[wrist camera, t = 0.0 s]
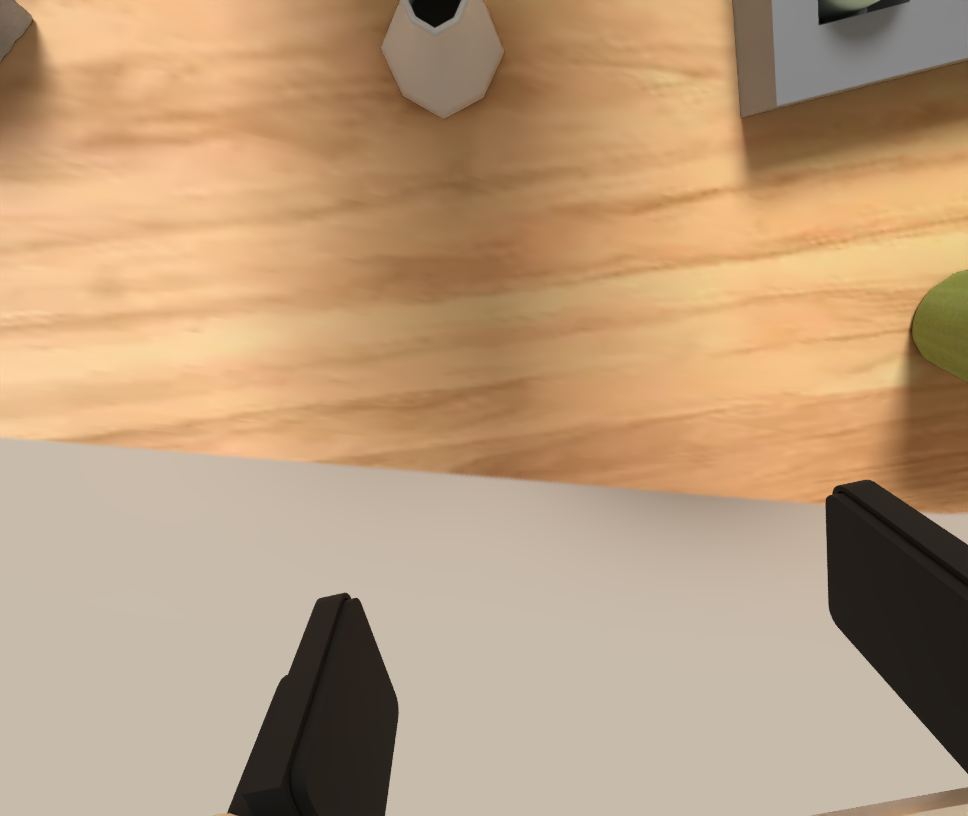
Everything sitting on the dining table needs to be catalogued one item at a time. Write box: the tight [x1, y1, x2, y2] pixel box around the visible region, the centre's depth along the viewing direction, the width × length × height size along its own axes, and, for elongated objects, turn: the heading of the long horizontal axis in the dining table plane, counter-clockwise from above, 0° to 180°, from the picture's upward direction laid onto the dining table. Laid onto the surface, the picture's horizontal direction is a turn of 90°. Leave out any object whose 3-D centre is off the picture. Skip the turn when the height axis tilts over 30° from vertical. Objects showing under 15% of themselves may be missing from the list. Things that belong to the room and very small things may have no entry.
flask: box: [381, 0, 505, 119], centre depth 30 cm, size 7×7×10 cm
